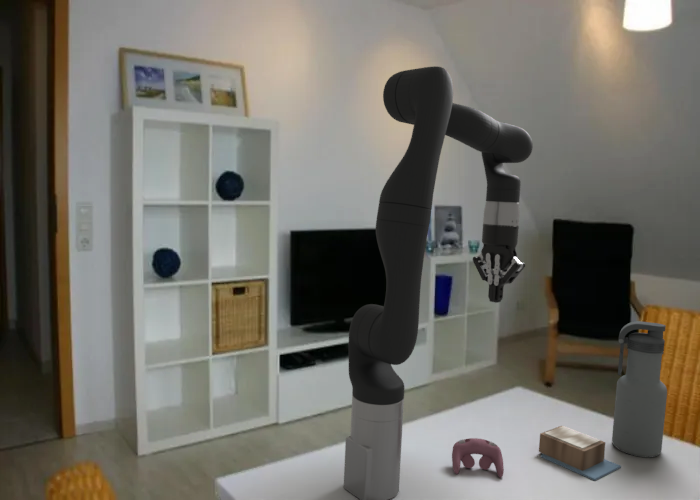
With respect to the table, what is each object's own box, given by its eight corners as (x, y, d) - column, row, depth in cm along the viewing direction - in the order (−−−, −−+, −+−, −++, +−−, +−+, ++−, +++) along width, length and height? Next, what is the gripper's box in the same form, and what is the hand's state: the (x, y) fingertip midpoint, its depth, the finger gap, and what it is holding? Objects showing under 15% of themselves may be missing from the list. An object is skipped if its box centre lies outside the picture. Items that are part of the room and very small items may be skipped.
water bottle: (608, 450, 124) (619, 324, 121) (610, 435, 132) (621, 316, 130) (661, 462, 119) (674, 331, 116) (660, 445, 127) (672, 322, 125)
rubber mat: (594, 480, 110) (594, 478, 110) (540, 456, 119) (540, 454, 119) (620, 467, 116) (621, 465, 116) (567, 445, 125) (567, 444, 125)
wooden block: (538, 451, 121) (582, 470, 113) (540, 432, 120) (584, 450, 112) (560, 443, 125) (603, 460, 118) (561, 424, 125) (605, 440, 117)
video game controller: (500, 478, 112) (500, 440, 115) (505, 478, 108) (504, 439, 111) (450, 473, 113) (450, 437, 116) (453, 473, 109) (453, 435, 112)
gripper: (465, 221, 127) (460, 298, 128) (515, 224, 116) (509, 308, 118) (487, 221, 131) (482, 295, 133) (537, 225, 121) (531, 306, 122)
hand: (495, 301), depth 125 cm, fingers closed
